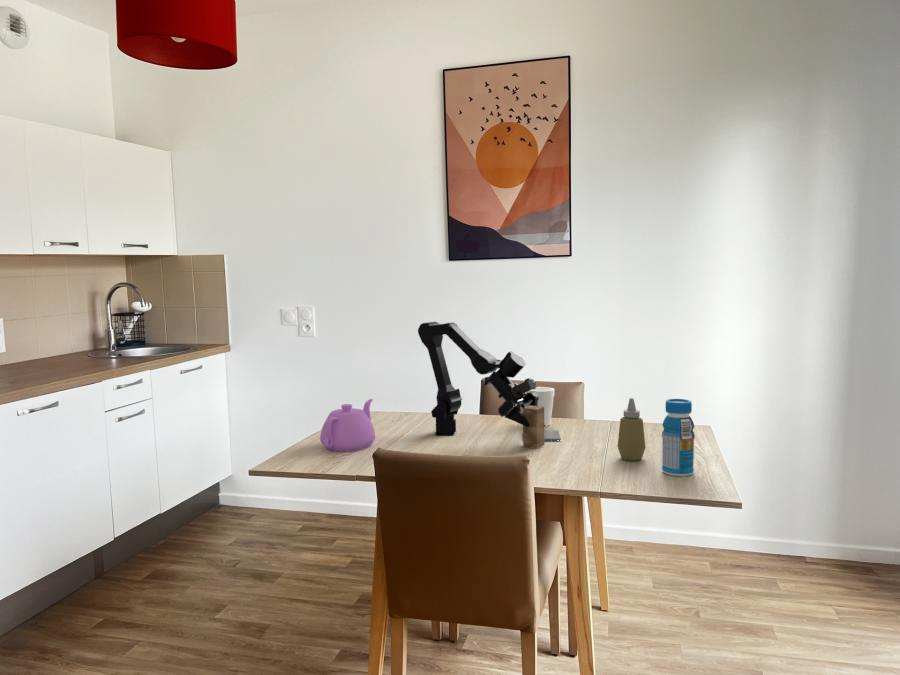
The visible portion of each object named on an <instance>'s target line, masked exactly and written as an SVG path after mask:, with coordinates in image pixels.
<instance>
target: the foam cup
mask: <svg viewBox="0 0 900 675" xmlns="http://www.w3.org/2000/svg"><path fill="white" fill-rule="evenodd" d="M535 387H536V389H532V390H530V391H527V393H529V392H532V391H536V392H537V393H538V394H539V400H538V403H537V405H538V406H541V407H544V425H547V424H550V425H551V421H552V414H553V407H554V397H555V388H553V387H547V386H535Z"/></svg>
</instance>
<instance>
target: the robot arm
mask: <svg viewBox="0 0 900 675" xmlns="http://www.w3.org/2000/svg"><path fill="white" fill-rule="evenodd" d="M417 333H418V336H419V339H420V341H421V342H422V345H424V347H426V349H427V352H428V355H429V359H430V363H431V368H432V370H433V374H434V378H435V382H436V386H437V393H436V404H437V405H436V406H434V408H432V410H431V411H430V412H431V413H430V414H431V416H432V418H435V433H434V435H436V436H454V435H455V433H456V432H457V419H456V418H455V415H458V412H459V409H460V408H461V406H462V400H463V398H462V396H461V391H460V389H459V388H456V389H455V387H454V386H453V385H452V381H451V378H450V373H449V369H448V367H447V365H448V364H447V362H446V359H445V354H444V351H443V347H442V345H443V344H442V343H443V338H444V335H445V336H447V337H448V338H449V340H450V341H452V342H453V343H454V344H455V345H456V346H457V347H458V348H459V349H460V350H461V351H462V352H463V353H464V354H465V355H466V356H467V357H468V358H469V360H470V364H471V365H472V367H473V369H474V370H475V371H476V373H477V374H479V375H488V374H490V375H489V376H486V377H484V386H485V387H487V386H489V385H491V386H492V387H493V388H494V389H495V391H496V392H497V393H498V395H497V397H498V398H499V399H503V400H504V402H503V403H502V404H501V405H500V406H499V407H498V408H497V413H498V415H499V416H500V417H501V418H505V419H508V420H511V421H513V422H516V423H518V424H520V425H522V426H523V425H524V426H526V427H529V426H530V424H529V422H528V421H527V419H526V418H525V416H524V415H523V411H522V410H521V408H522V409H523V408H524V407H527V406H530V405H532V406H538V405H537V403H538V400H539V394H538V393H537V392H536V391H532V392H529V393H528V391H530V390H532V389H536V387H537V386H536V384H537V381H535V380H534V378H532V377H528V378H525V379H524V382H521V383H518V382H513V381H512V379H510V378H515V377H516V376H517V375H518V374H519V373H520V372H521V371H522V370H523V368H524V367H525V366H526V361H525V360H524V358H523V357H521V356H520V355H518V354H516V353H514V351H508V352H507V353H506V355H505V356H504V357H503V359H502V360H501V359H498V358H497V357H495V356H494V355H493V354H491V353H490V352H488V351H486V350H485V349H482V348H480V347H479V346H478V345H477V344H476V343H475V342H474V341H473V340H472V338H470V337H469V336H468V335H467V334H466V333H465V332H464V331H463V330H462V329H461V328H460V327H459V326H458V324H457V323H455V322H446V323H439V322H437V321H429V322H422V323H420V324H419V327H418V328H417Z"/></svg>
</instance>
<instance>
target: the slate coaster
mask: <svg viewBox="0 0 900 675" xmlns="http://www.w3.org/2000/svg"><path fill="white" fill-rule="evenodd" d="M551 440H552V441H551ZM557 440H559V441H557ZM560 440H562V439H561V435H560V432H559V430H554V429H553V430H552V429H551V430H549V429H548V430H545V429H544V442H561V441H560Z"/></svg>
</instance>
